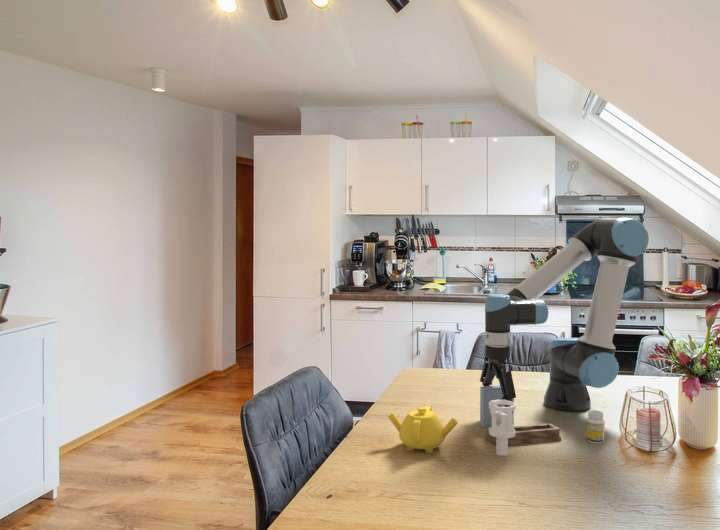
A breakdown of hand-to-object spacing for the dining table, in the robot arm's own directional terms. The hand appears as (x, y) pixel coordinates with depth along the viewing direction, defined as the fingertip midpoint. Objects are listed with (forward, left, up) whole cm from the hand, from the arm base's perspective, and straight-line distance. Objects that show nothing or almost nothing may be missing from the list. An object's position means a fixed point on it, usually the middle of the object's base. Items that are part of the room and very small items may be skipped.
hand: (496, 412), depth 191 cm
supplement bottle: (-21, +20, -4) cm, 29 cm away
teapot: (+28, +12, -4) cm, 31 cm away
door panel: (0, 0, -4) cm, 4 cm away
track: (-2, +13, -4) cm, 14 cm away
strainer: (+9, +22, -4) cm, 24 cm away
